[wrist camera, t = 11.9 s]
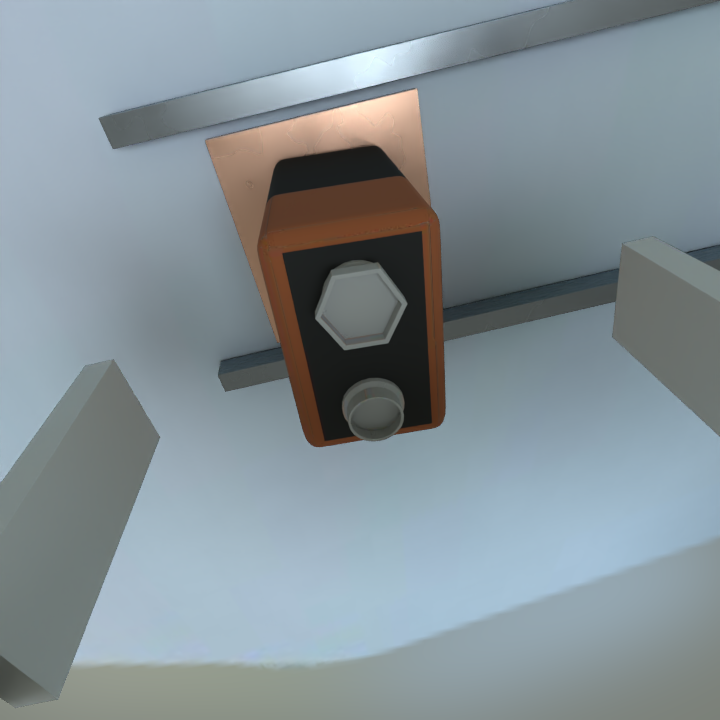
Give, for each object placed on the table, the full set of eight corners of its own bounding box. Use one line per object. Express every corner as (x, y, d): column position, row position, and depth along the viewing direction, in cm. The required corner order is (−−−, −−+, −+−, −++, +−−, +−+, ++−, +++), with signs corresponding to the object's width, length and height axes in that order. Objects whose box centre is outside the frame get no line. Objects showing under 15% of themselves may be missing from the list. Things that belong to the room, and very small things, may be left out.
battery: (383, 141, 18) (455, 218, 10) (397, 300, 22) (458, 453, 14) (270, 158, 18) (245, 251, 10) (304, 315, 22) (307, 478, 13)
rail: (786, 248, 23) (808, 256, 22) (228, 377, 24) (225, 391, 23) (889, -79, 16) (927, -87, 15) (110, 114, 17) (98, 118, 16)
